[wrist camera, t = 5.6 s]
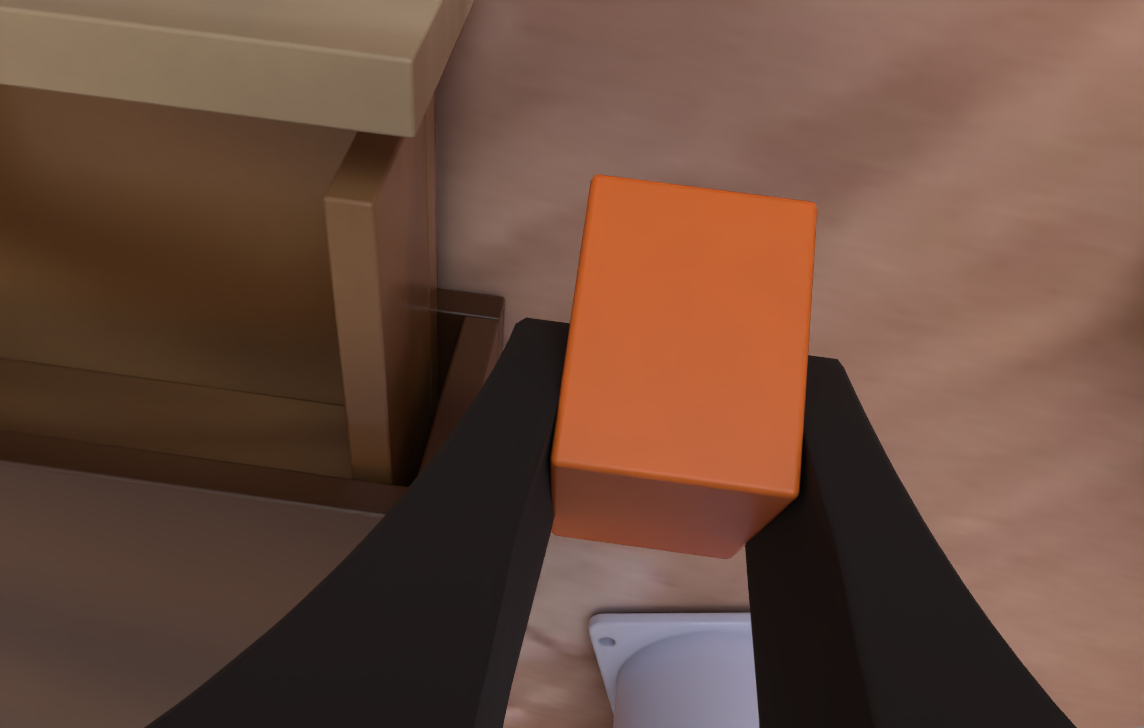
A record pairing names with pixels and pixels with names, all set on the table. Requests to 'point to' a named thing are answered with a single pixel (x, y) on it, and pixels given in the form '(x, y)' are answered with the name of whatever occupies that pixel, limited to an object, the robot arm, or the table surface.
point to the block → (683, 367)
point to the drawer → (223, 227)
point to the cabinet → (178, 552)
